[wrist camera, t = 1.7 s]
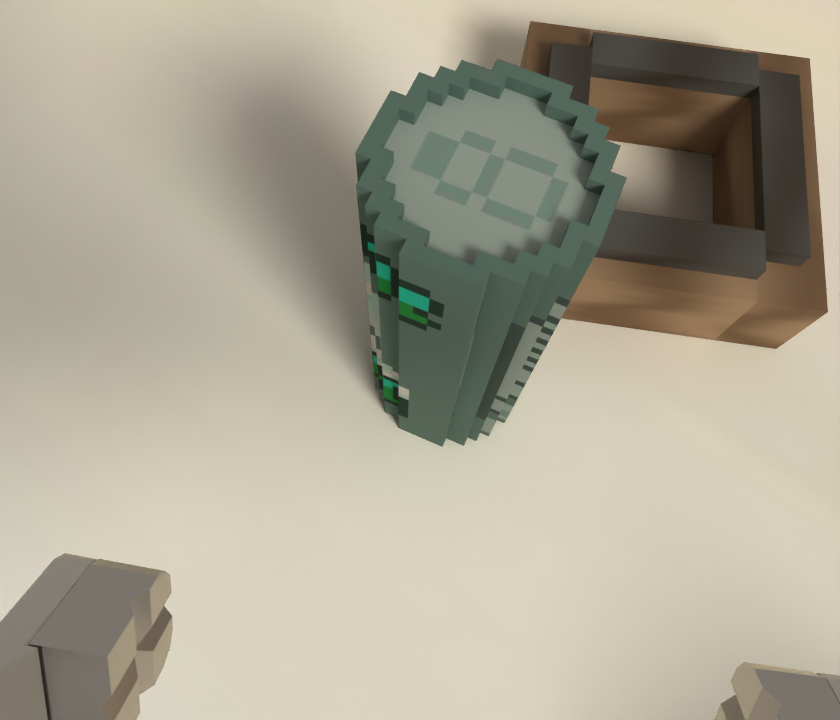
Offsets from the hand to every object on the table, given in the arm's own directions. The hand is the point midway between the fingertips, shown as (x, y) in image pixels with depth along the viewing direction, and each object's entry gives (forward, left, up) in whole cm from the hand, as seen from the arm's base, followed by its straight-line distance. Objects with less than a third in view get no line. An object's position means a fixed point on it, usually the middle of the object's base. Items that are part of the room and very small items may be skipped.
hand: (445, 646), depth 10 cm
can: (0, +10, -18) cm, 21 cm away
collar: (+8, +20, -18) cm, 28 cm away
